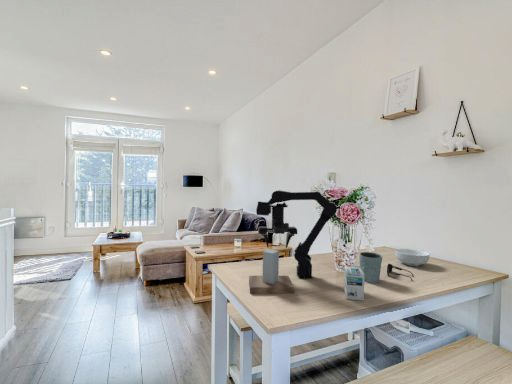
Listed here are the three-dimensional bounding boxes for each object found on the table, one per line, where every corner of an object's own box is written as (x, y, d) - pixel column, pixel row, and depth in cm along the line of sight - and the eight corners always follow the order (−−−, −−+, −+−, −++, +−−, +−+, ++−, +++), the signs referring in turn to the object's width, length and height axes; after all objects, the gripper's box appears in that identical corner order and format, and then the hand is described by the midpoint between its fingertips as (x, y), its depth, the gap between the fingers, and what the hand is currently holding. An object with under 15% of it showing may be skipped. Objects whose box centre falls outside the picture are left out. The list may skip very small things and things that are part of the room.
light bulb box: (364, 301, 108) (365, 273, 108) (346, 299, 110) (346, 272, 109) (359, 290, 119) (360, 265, 118) (343, 289, 120) (344, 264, 120)
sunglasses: (387, 271, 146) (389, 262, 146) (413, 279, 140) (415, 269, 139) (384, 276, 137) (385, 267, 137) (411, 285, 131) (413, 275, 130)
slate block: (278, 280, 122) (278, 251, 122) (272, 284, 118) (273, 253, 117) (268, 278, 125) (268, 249, 124) (262, 281, 121) (263, 251, 120)
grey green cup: (367, 275, 139) (368, 251, 139) (386, 281, 131) (387, 255, 130) (353, 278, 134) (354, 253, 133) (372, 285, 125) (373, 258, 125)
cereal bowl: (431, 264, 160) (432, 251, 160) (425, 270, 147) (426, 257, 147) (399, 258, 171) (399, 246, 171) (391, 264, 159) (391, 251, 158)
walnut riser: (288, 280, 129) (288, 275, 129) (293, 293, 115) (294, 287, 115) (248, 281, 128) (249, 275, 128) (250, 293, 114) (250, 287, 114)
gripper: (259, 218, 129) (259, 251, 130) (300, 218, 130) (299, 251, 131) (258, 215, 140) (257, 246, 141) (295, 215, 141) (294, 246, 142)
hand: (277, 247), depth 138 cm, fingers open, 9 cm apart
